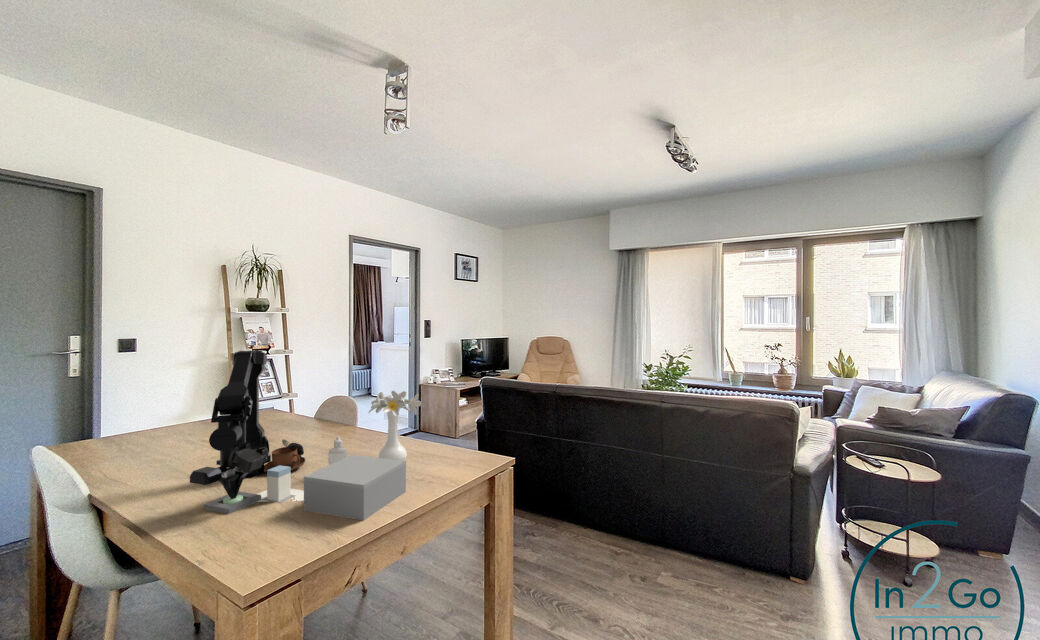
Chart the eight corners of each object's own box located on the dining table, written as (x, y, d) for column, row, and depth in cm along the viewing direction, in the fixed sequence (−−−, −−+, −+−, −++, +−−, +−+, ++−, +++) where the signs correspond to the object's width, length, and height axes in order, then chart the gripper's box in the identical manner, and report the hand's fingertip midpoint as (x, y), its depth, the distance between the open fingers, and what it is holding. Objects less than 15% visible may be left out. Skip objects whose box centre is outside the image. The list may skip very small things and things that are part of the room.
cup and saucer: (311, 461, 146) (311, 443, 146) (295, 475, 134) (294, 456, 134) (276, 462, 146) (275, 444, 146) (256, 476, 134) (255, 457, 134)
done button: (219, 506, 112) (219, 500, 112) (234, 500, 116) (234, 494, 116) (231, 509, 110) (231, 502, 110) (247, 502, 115) (247, 496, 115)
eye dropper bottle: (338, 477, 133) (338, 439, 133) (326, 474, 136) (326, 436, 136) (349, 472, 137) (349, 435, 137) (338, 469, 140) (338, 433, 140)
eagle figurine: (276, 468, 142) (275, 441, 141) (291, 460, 149) (290, 435, 148) (297, 469, 141) (296, 442, 140) (311, 461, 148) (310, 435, 147)
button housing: (203, 510, 110) (203, 504, 110) (236, 496, 119) (236, 490, 119) (229, 515, 108) (229, 509, 108) (261, 500, 116) (261, 495, 116)
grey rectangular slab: (303, 511, 110) (303, 476, 109) (352, 485, 127) (352, 454, 127) (363, 522, 104) (363, 485, 104) (405, 492, 121) (405, 461, 121)
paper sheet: (236, 503, 114) (236, 502, 114) (274, 487, 126) (274, 485, 126) (283, 512, 109) (283, 510, 109) (318, 493, 121) (318, 492, 121)
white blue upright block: (267, 499, 116) (267, 470, 116) (279, 493, 120) (279, 465, 120) (278, 501, 115) (278, 471, 115) (290, 495, 119) (290, 466, 119)
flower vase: (426, 460, 150) (426, 389, 150) (384, 476, 134) (384, 397, 134) (401, 453, 157) (401, 385, 157) (358, 468, 141) (358, 393, 141)
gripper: (221, 453, 102) (221, 518, 102) (285, 433, 120) (286, 488, 120) (188, 449, 105) (188, 512, 105) (255, 430, 123) (255, 484, 123)
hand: (233, 498), depth 113 cm, fingers closed, pressing on done button
